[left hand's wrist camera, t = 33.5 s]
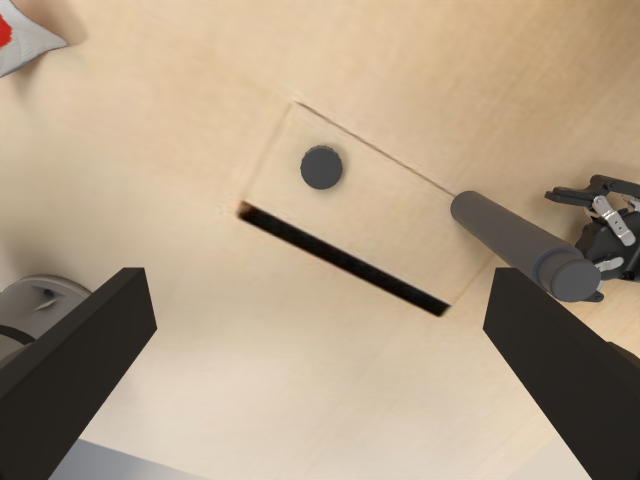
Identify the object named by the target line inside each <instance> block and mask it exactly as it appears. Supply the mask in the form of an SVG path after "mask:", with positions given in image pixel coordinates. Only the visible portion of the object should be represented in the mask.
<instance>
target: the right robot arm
mask: <svg viewBox="0 0 640 480" xmlns="http://www.w3.org/2000/svg"><path fill="white" fill-rule="evenodd" d="M610 191H613V192H617V193H621V196H622V197H623V200H624V201H625V202H627V203H628V208H623V209H620V210H618V211H615V210H614V209H613V208H612V207H611V206H610V204H609V202H608V201H607V199H606V198H605V196H606V195H607V194H608V193H609V192H610ZM544 197H545V198H547V199H549V200H552V201H555V202H559V203H565V204H571V205H577V206H583V207H584V212H585V213H586V215H587V216H588V218H589V219H590V221H591V223H590V224H589V225H585V227H584V229H583V231H582V236H581V238H580V240H579V241H578V242H577V243H576V245H575V248H577V249H578V250H580V252H581V253H582V254H583V256H584V259H587V260H589V261H590V262H592V263H593V264H594V266H596V267H597V268H598V269H600V272H601V280H600V283H599V286H598V287H597V289H596V290H595V292H594V293H593V294H591V295H590V296H589V297H587V298H586V299H584V300H581V301H586V302H600V301H602V300H603V299H604V295H603V294H602V293H600V292H599V291H600V289H601V286H602V284H603V282H604V281H606V280H610V279H621V280H626V281H632V282H639V283H640V185H639V184H635V183H631V182H627V181H623V180H619V179H615V178H610V177H606V176H602V175H594V176H593V177H592V178H591V180H590V185H589V186H588V187H587V188H586V189H584V190H577V189H571V188H565V187H555V188H554V190H553V192H552V191H547V192H546V194H545V196H544ZM548 293H550V292H548ZM550 294H551V293H550ZM551 295H552V294H551ZM552 296H553V295H552ZM554 298H555V297H554Z"/></svg>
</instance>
